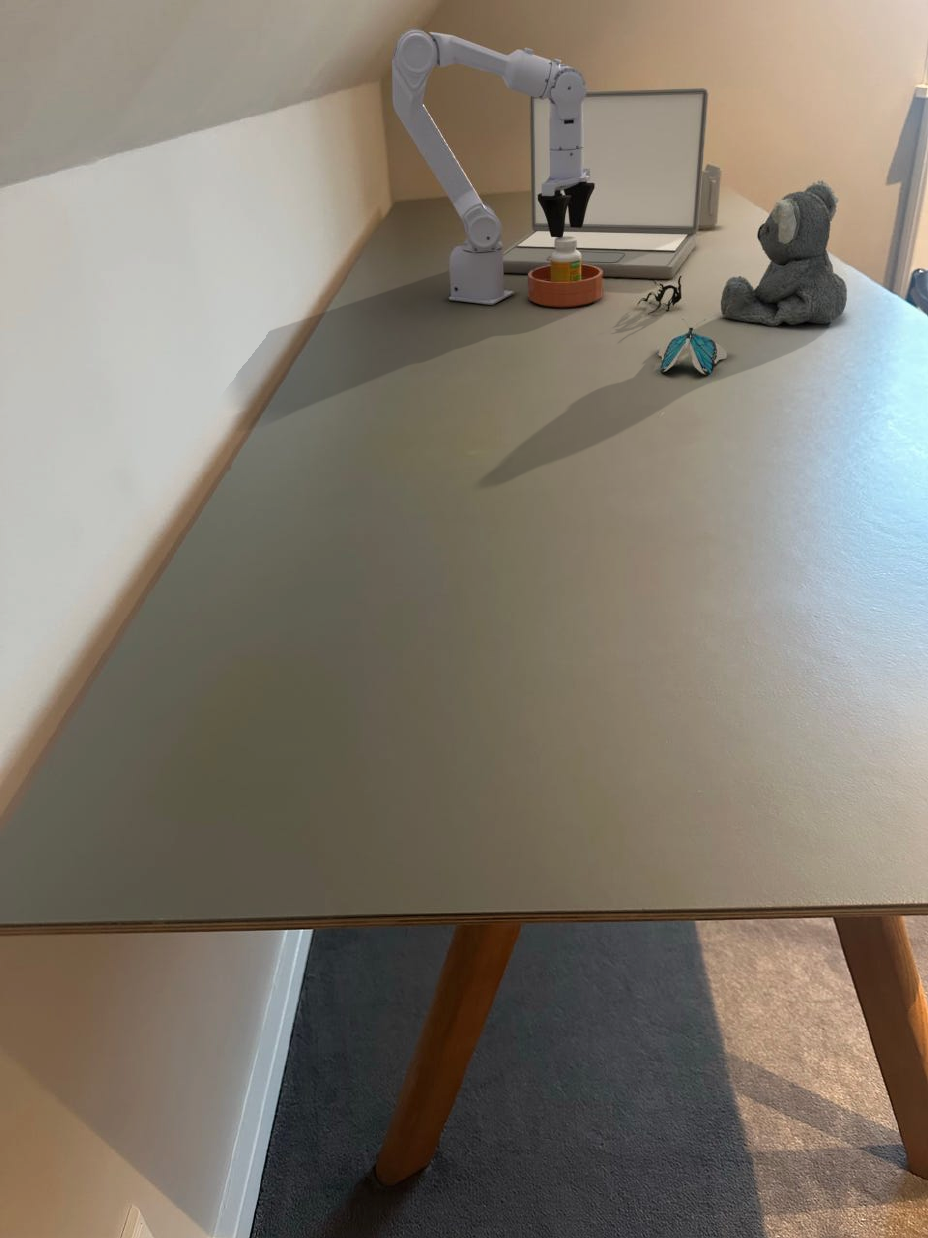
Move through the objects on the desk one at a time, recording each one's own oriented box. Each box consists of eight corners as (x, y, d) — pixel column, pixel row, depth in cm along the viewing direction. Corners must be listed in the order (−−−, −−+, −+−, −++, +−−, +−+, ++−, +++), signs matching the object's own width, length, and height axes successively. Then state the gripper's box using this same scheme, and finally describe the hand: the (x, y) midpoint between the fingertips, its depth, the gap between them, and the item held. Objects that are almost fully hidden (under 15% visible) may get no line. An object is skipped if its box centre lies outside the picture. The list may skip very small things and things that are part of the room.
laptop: (490, 273, 187) (484, 109, 171) (534, 241, 208) (531, 92, 192) (671, 280, 175) (682, 104, 159) (697, 245, 197) (709, 87, 180)
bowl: (515, 304, 168) (514, 278, 166) (550, 285, 177) (549, 260, 175) (581, 312, 162) (582, 285, 160) (614, 292, 171) (614, 266, 169)
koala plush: (767, 294, 164) (782, 172, 153) (866, 311, 153) (889, 181, 142) (711, 318, 155) (723, 190, 144) (812, 338, 144) (833, 201, 133)
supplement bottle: (572, 300, 166) (572, 243, 161) (545, 297, 169) (545, 241, 163) (585, 292, 170) (586, 236, 165) (559, 290, 172) (559, 234, 167)
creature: (637, 321, 159) (685, 311, 157) (632, 290, 157) (680, 279, 154) (640, 308, 166) (685, 297, 163) (634, 277, 163) (680, 266, 160)
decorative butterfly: (647, 349, 132) (660, 311, 138) (647, 388, 137) (659, 350, 143) (721, 353, 129) (730, 314, 135) (718, 393, 134) (727, 353, 140)
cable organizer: (699, 218, 217) (703, 161, 210) (723, 229, 207) (728, 169, 200) (672, 222, 216) (675, 164, 209) (694, 232, 206) (699, 173, 199)
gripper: (567, 155, 153) (568, 242, 161) (606, 141, 163) (604, 224, 171) (530, 154, 156) (532, 240, 164) (569, 140, 166) (570, 222, 174)
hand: (566, 231), depth 168 cm, fingers open, 7 cm apart
